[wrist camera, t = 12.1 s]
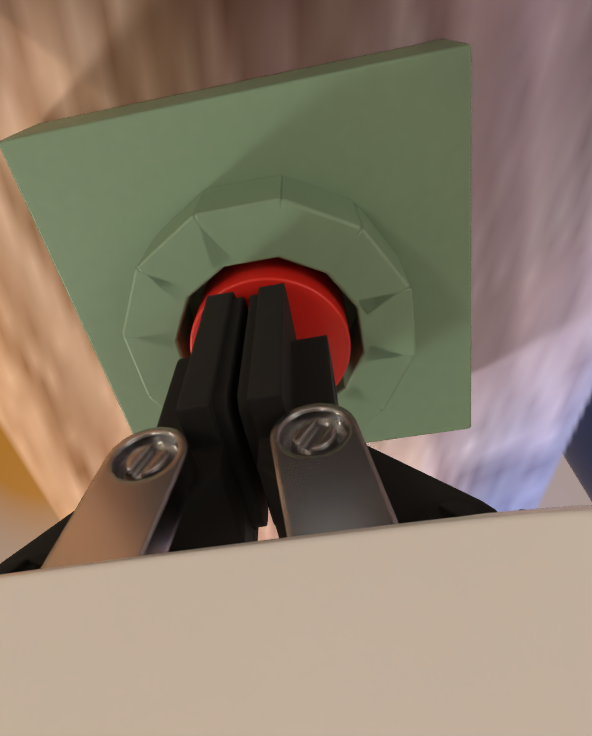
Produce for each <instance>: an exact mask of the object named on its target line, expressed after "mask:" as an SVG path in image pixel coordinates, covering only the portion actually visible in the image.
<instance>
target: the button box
mask: <svg viewBox="0 0 592 736" xmlns="http://www.w3.org/2000/svg"><path fill="white" fill-rule="evenodd" d="M0 149H1V151H2V153H3V155H4V157H5V160H6V162H7V164H8V166H9V168H10V170H11V173H12V175H13V177H14V179H15V181H16V183H17V185H18V188H19V190H20V192H21V194H22V196H23V198H24V200H25V203H26V205H27V207H28V209H29V211H30V213H31V216H32V218H33V220H34V222H35V224H36V226H37V228H38V231H39V233H40V235H41V237H42V239H43V241H44V243H45V246H46V248H47V250H48V252H49V254H50V256H51V258H52V261H53V263H54V265H55V267H56V269H57V271H58V274H59V276H60V278H61V280H62V282H63V284H64V286H65V289H66V291H67V293H68V295H69V297H70V299H71V301H72V304H73V306H74V308H75V310H76V312H77V314H78V317H79V319H80V321H81V323H82V325H83V327H84V329H85V332H86V334H87V336H88V338H89V340H90V342H91V344H92V347H93V349H94V351H95V353H96V355H97V357H98V360H99V362H100V364H101V366H102V368H103V370H104V372H105V375H106V377H107V379H108V381H109V383H110V385H111V387H112V390H113V392H114V394H115V396H116V398H117V400H118V402H119V405H120V407H121V409H122V411H123V413H124V415H125V418H126V420H127V422H128V424H129V426H130V428H131V430H132V433H133V434H135V433H137V432H140V431H143V430H145V429H149V428H155V427H157V424H158V421H159V418H160V415H161V412H162V408H163V405H164V402H165V399H166V396H167V393H168V389H169V386H170V383H171V380H172V377H173V374H174V370H175V367H176V364H177V362H178V360H179V359H181V358H188V357H190V356H191V351H190V336H191V331H192V326H193V323H194V320H195V317H196V314H197V311H198V307H199V304H200V301H201V298H202V295H203V292H204V289H205V287H206V285H207V283H208V281H209V279H211V278H212V277H213V276H214V275H215V274H216V273H218V272H219V271H220V270H221V269H222V268H224V267H225V266H231V265H236V264H242V263H248V262H253V261H259V260H265V259H270V258H276V257H279V258H282V259H285V260H288V261H291V262H294V263H297V264H300V265H303V266H306V267H309V268H312V269H315V270H318V271H321V272H324V273H326V274H327V275H328V276H329V277H330V278H331V279H332V280H333V282H334V283H335V284H336V285H337V286H338V287H339V289H340V291H341V294H342V296H343V301H344V306H345V311H346V317H347V323H348V328H349V334H350V342H351V352H350V359H349V363H348V366H347V369H346V371H345V373H344V375H343V377H342V379H341V380H340V382H339V383H338V384H337V386H336V390H337V397H338V404H339V406H341V407H343V408H345V409H346V410H348V411H349V412H351V413H352V415H353V416H354V418H355V419H356V420H357V423H358V425H359V428H360V430H361V433H362V435H363V438H364V440H365V442H366V443H368V442H375V441H382V440H389V439H396V438H404V437H411V436H418V435H425V434H432V433H439V432H447V431H454V430H461V429H468V428H470V427H471V45H470V44H467V43H462V42H456V41H451V40H446V39H441V40H436V41H431V42H426V43H421V44H417V45H412V46H407V47H402V48H398V49H393V50H388V51H383V52H378V53H374V54H369V55H364V56H359V57H355V58H350V59H345V60H340V61H335V62H331V63H326V64H321V65H316V66H312V67H307V68H302V69H297V70H292V71H288V72H283V73H278V74H273V75H269V76H264V77H259V78H254V79H249V80H245V81H240V82H235V83H230V84H225V85H221V86H216V87H211V88H206V89H202V90H197V91H192V92H187V93H182V94H178V95H173V96H168V97H163V98H159V99H154V100H149V101H144V102H139V103H135V104H130V105H125V106H120V107H116V108H111V109H106V110H101V111H96V112H92V113H87V114H82V115H77V116H73V117H68V118H63V119H58V120H53V121H49V122H44V123H39V124H37V125H34V126H32V127H30V128H28V129H25V130H23V131H21V132H19V133H16V134H14V135H12V136H10V137H7V138H5V139H3V140H1V141H0Z"/></svg>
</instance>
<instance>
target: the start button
mask: <svg viewBox="0 0 592 736" xmlns="http://www.w3.org/2000/svg"><path fill="white" fill-rule="evenodd" d="M280 283H284V284H285V287H286V291H287V296H288V301H289V305H290V310H291V315H292V319H293V324H294V329H295V334H296V338H297V340H298V339H305V338H311V337H317V336H323V335H327V337H328V342H329V348H330V353H331V359H332V365H333V371H334V377H335V383H336V386H337V384H338V383H339V382H340V380H341V379H342V377H343V375H344V373H345V371H346V369H347V366H348V363H349V359H350V352H351V342H350V334H349V328H348V323H347V317H346V311H345V306H344V301H343V296H342V294H341V291H340V289H339V287H338V286H337V285H336V284H335V283H334V282H333V280H332V279H331V278H330V277H329V276H328V275H327V274H326V273H324V272H321V271H318V270H315V269H312V268H309V267H306V266H303V265H300V264H297V263H294V262H291V261H288V260H285V259H282V258H279V257H276V258H270V259H265V260H259V261H253V262H248V263H242V264H236V265H231V266H225V267H224V268H222V269H221V270H220V271H219V272H218V273H216V274H215V275H214V276H213V277H212V278H211V279H209V281H208V283H207V285H206V287H205V289H204V292H203V295H202V298H201V301H200V304H199V307H198V311H197V314H196V317H195V320H194V323H193V326H192V331H191V336H190V351H191V352H192V349H193V345H194V342H195V338H196V334H197V331H198V327H199V324H200V320H201V317H202V313H203V310H204V306H205V302H206V299H207V297H208V296H211V295H217V294H223V293H228V292H233V293H234V294H235V297H236V298H238V297H244V298H245V301H246V304H247V308H248V309H249V302H250V296H251V295H256V294H258V290H259V287H263V286H269V285H275V284H280Z"/></svg>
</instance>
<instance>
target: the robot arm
mask: <svg viewBox="0 0 592 736" xmlns="http://www.w3.org/2000/svg"><path fill="white" fill-rule="evenodd" d="M268 507H269V510H270V513H271V517H272V520H273V523H274V524H275V526H276V529H277V532H278V535H279V538H278V539H270V540H262V541H258V527H263V526H267V522H268ZM0 736H592V505H589V506H588V505H586V506H582V505H581V506H565V507H552V508H540V509H529V510H523V509H520V510H518V511H506V512H497V511H496V510H495V509H493V508H492V507H490V506H489V505H487V504H486V503H484V502H483V501H481V500H479V499H477V498H474V497H472V496H470V495H468V494H466V493H464V492H462V491H460V490H458V489H456V488H454V487H452V486H450V485H448V484H446V483H443V482H441V481H439V480H437V479H435V478H433V477H431V476H429V475H427V474H425V473H423V472H421V471H419V470H417V469H414V468H412V467H410V466H408V465H406V464H404V463H402V462H400V461H398V460H396V459H394V458H392V457H390V456H388V455H386V454H383V453H381V452H379V451H377V450H375V449H373V448H371V447H369V446H367V445H366V442H365V440H364V438H363V435H362V433H361V430H360V428H359V425H358V423H357V420H356V419H355V418H354V416H353V415H352V413H351V412H349V411H348V410H346V409H345V408H343V407H341V406H339V404H338V397H337V390H336V383H335V377H334V371H333V365H332V359H331V353H330V348H329V342H328V337H327V335H323V336H317V337H311V338H305V339H298V340H297V338H296V334H295V329H294V324H293V319H292V315H291V310H290V305H289V301H288V296H287V291H286V287H285V284H284V283H280V284H275V285H269V286H263V287H259V290H258V294H256V295H251V296H250V302H249V309H248V308H247V304H246V301H245V298H244V297H238V298H236V297H235V294H234V293H233V292H228V293H223V294H217V295H211V296H208V297H207V299H206V302H205V306H204V310H203V313H202V317H201V320H200V324H199V327H198V331H197V334H196V338H195V342H194V345H193V349H192V352H191V356H190V357H188V358H181V359H179V360H178V362H177V364H176V367H175V370H174V374H173V377H172V380H171V383H170V386H169V389H168V393H167V396H166V399H165V402H164V405H163V408H162V412H161V415H160V418H159V421H158V424H157V427H155V428H149V429H145V430H143V431H140V432H137V433H135V434H133V435H131V436H129V437H127V438H126V439H124V440H123V441H121V442H120V443H119V444H118V445H116V446H115V447H114V448H113V449H112V451H111V452H110V453H109V454H108V456H107V457H106V459H105V460H104V462H103V464H102V465H101V467H100V469H99V470H98V472H97V474H96V475H95V477H94V479H93V480H92V482H91V484H90V486H89V487H88V489H87V491H86V492H85V494H84V496H83V497H82V499H81V501H80V502H79V504H78V506H77V508H76V509H75V511H73V512H72V513H71V514H69V515H68V516H66V517H65V518H64V519H62V520H61V521H59V522H58V523H57V524H55V525H54V526H53V527H51V528H50V529H48V530H47V531H46V532H44V533H43V534H41V535H40V536H39V537H37V538H36V539H34V540H33V541H31V542H30V543H29V544H27V545H26V546H24V547H23V548H22V549H20V550H19V551H17V552H16V553H15V554H13V555H12V556H10V557H9V558H8V559H6V560H5V561H4V562H2V563H1V564H0Z"/></svg>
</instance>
